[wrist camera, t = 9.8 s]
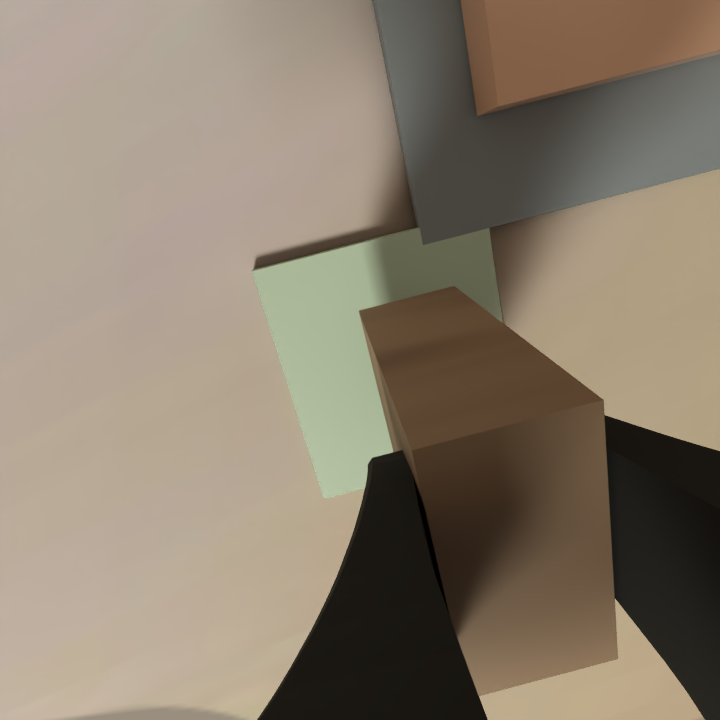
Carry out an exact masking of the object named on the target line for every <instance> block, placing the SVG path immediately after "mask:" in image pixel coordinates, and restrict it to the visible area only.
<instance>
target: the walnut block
mask: <svg viewBox="0 0 720 720" xmlns="http://www.w3.org/2000/svg"><path fill="white" fill-rule="evenodd" d="M359 315H360V319H361V323H362V327H363V331H364V335H365V339H366V343H367V347H368V351H369V355H370V359H371V363H372V367H373V371H374V375H375V379H376V383H377V387H378V391H379V395H380V400H381V404H382V408H383V412H384V416H385V420H386V424H387V428H388V432H389V436H390V440H391V444H392V448H393V452H396V451H400V450H402V451H403V453H404V455H405V457H406V459H407V462H408V464H409V466H410V469H411V471H412V474H413V478H414V482H415V486H416V491H417V495H418V499H419V503H420V507H421V512H422V516H423V520H424V524H425V528H426V533H427V537H428V541H429V545H430V549H431V554H432V558H433V562H434V566H435V570H436V575H437V579H438V583H439V587H440V591H441V593H442V596H443V599H444V602H445V605H446V608H447V610H448V613H449V616H450V619H451V622H452V624H453V627H454V630H455V633H456V636H457V638H458V641H459V644H460V647H461V650H462V652H463V655H464V658H465V660H466V663H467V666H468V668H469V671H470V674H471V677H472V679H473V682H474V685H475V687H476V690H477V693H478V696H481V695H485V694H489V693H492V692H496V691H500V690H504V689H507V688H511V687H515V686H518V685H522V684H526V683H530V682H533V681H537V680H541V679H545V678H548V677H552V676H556V675H560V674H563V673H567V672H571V671H575V670H578V669H582V668H586V667H589V666H593V665H597V664H601V663H604V662H608V661H612V660H616V659H618V650H617V632H616V614H615V596H614V579H613V561H612V543H611V525H610V507H609V489H608V471H607V453H606V436H605V418H604V400H603V399H602V398H600V397H599V396H598V395H596V394H595V393H594V392H592V391H591V390H590V389H588V388H587V387H586V386H585V385H583V384H582V383H581V382H579V381H578V380H577V379H575V378H574V377H573V376H571V375H570V374H569V373H568V372H566V371H565V370H564V369H562V368H561V367H560V366H558V365H557V364H556V363H554V362H553V361H552V360H551V359H549V358H548V357H547V356H545V355H544V354H543V353H541V352H540V351H539V350H537V349H536V348H535V347H533V346H532V345H531V344H530V343H528V342H527V341H526V340H524V339H523V338H522V337H520V336H519V335H518V334H516V333H515V332H514V331H513V330H511V329H510V328H509V327H507V326H506V325H505V324H503V323H502V322H501V321H499V320H498V319H497V318H496V317H494V316H493V315H492V314H490V313H489V312H488V311H486V310H485V309H484V308H482V307H481V306H480V305H479V304H477V303H476V302H475V301H473V300H472V299H471V298H469V297H468V296H467V295H465V294H464V293H463V292H462V291H460V290H459V289H458V288H456V287H455V286H452V287H448V288H444V289H440V290H436V291H432V292H429V293H425V294H421V295H417V296H413V297H409V298H405V299H402V300H398V301H394V302H390V303H386V304H382V305H378V306H375V307H371V308H367V309H363V310H359Z"/></svg>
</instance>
